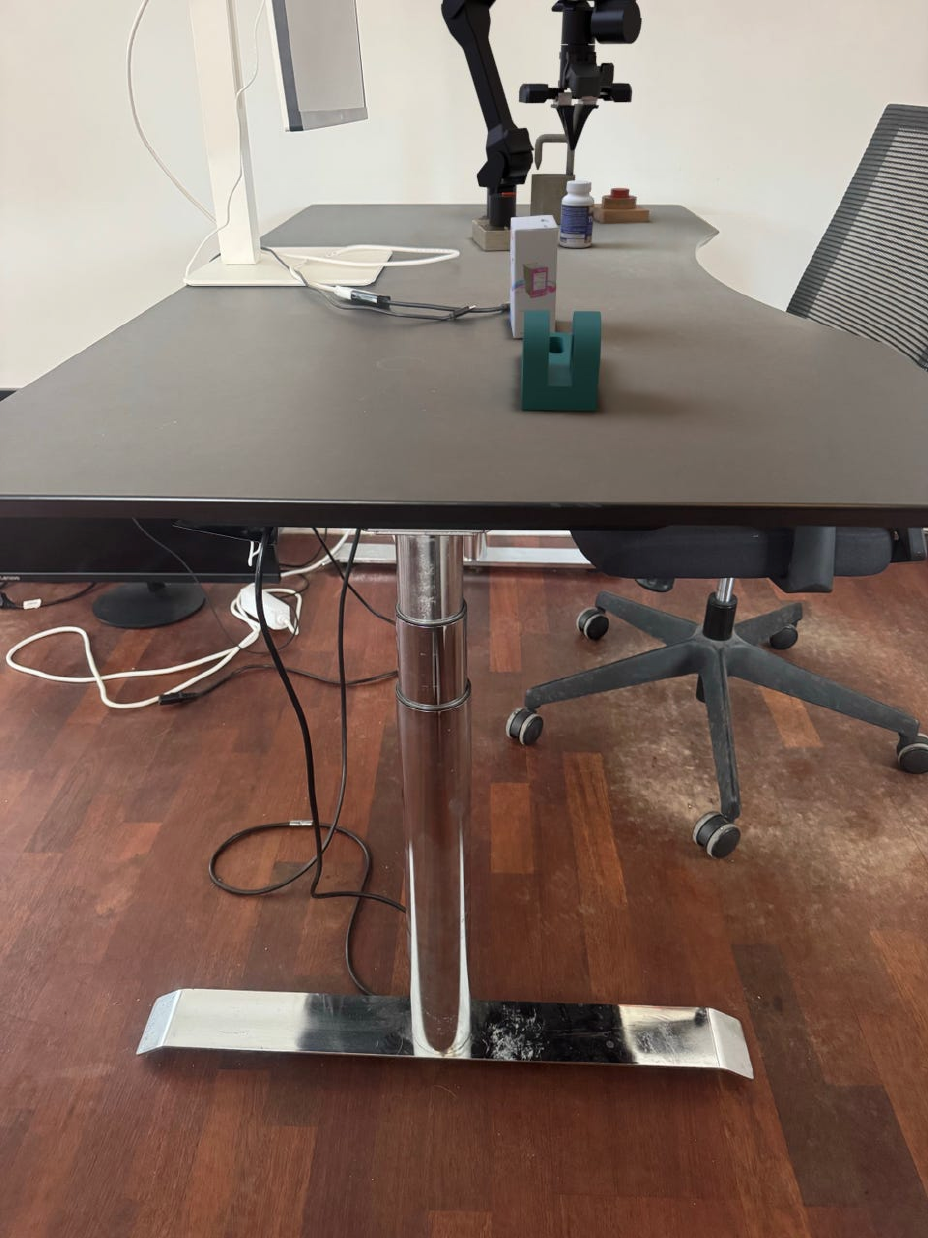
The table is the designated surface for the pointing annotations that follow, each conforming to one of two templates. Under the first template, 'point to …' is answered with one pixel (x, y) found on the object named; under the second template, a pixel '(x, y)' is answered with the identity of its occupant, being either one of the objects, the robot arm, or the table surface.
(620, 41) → the robot arm
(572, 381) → the bracket
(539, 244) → the ink box
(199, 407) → the table surface
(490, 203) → the knob
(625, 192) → the button
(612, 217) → the wooden button base
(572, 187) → the pill bottle
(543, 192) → the padlock
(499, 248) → the beige flat rectangular block
